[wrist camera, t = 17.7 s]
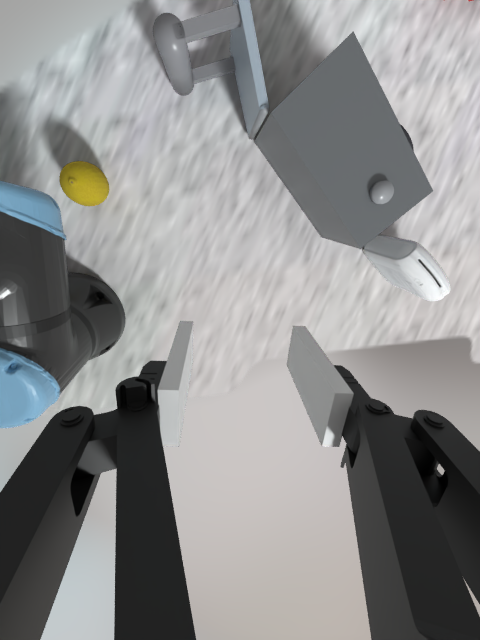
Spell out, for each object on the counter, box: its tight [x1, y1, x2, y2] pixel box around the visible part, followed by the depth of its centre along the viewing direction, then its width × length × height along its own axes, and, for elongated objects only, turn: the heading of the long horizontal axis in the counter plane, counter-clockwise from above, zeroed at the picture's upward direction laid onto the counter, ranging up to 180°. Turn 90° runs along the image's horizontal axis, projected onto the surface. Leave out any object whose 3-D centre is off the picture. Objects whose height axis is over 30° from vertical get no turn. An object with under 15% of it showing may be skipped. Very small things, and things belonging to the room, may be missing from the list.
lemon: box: [60, 161, 109, 206], centre depth 38 cm, size 6×6×8 cm
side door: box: [153, 0, 269, 140], centre depth 33 cm, size 10×10×12 cm
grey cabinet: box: [255, 32, 433, 249], centre depth 36 cm, size 12×18×15 cm, turn 41°
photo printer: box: [363, 235, 450, 301], centre depth 44 cm, size 10×4×12 cm, turn 47°
